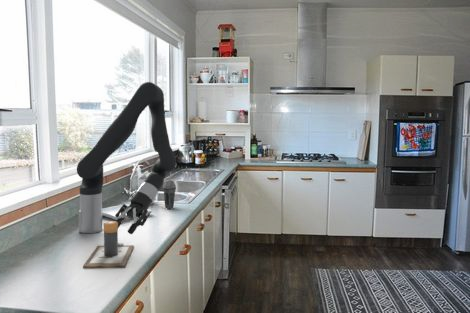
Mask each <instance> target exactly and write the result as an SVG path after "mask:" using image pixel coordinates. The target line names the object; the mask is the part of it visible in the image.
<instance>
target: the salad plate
mask: <svg viewBox="0 0 470 313" xmlns="http://www.w3.org/2000/svg"><path fill="white" fill-rule="evenodd" d="M124 204H125V203H124ZM130 204H131V203H126V204H125V205H126V206H129V205H130ZM122 206H123V204H119V205H114V206H108V207H104V208H103V207H102V217H105V218H108V219H112V220H113V221H116V220H117V217H116V216H115V215H116V214H117V212H118V211H119V210H120V208H121V207H122ZM147 210H148V211H149V213H150V214H151V213H152V212H153V209H150V208H148V209H147ZM120 215H121V213H120V214H119V216H120ZM126 215H127V213H126ZM122 218H123V217H122ZM129 220H134V219H133V218H129V219H126V220H124V221H129ZM124 221H123V222H124Z"/></svg>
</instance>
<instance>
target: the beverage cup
mask: <svg viewBox="0 0 470 313" xmlns="http://www.w3.org/2000/svg"><path fill="white" fill-rule="evenodd" d="M169 173H170V174H169V180H166V181H165V182H164V183H163V185H162V191H163V196H164V197H163V200H164V201H163V202H164V207H165V208H167V209H166V210H170V209H169V208H173V209H174V205H175V196H176V190H177V187H176V184H175V182H174V181H172V172H169Z"/></svg>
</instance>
